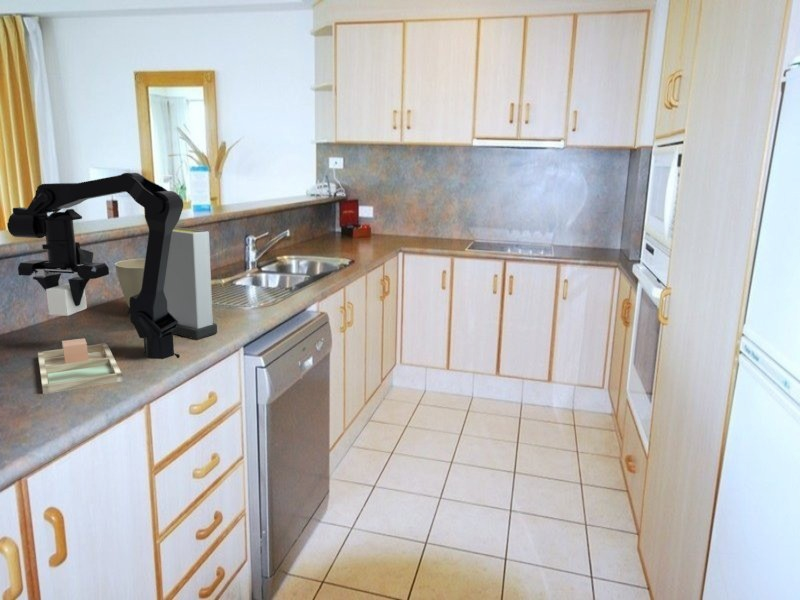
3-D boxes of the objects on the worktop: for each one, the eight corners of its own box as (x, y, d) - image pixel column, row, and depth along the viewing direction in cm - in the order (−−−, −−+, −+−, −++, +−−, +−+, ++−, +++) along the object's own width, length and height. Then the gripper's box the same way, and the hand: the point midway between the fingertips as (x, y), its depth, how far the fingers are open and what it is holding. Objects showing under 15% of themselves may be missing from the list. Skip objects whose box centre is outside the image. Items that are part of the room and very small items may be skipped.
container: (182, 333, 160) (164, 228, 155) (229, 333, 151) (211, 222, 146) (161, 339, 153) (140, 230, 149) (208, 340, 144) (188, 224, 140)
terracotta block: (88, 362, 125) (86, 343, 124) (65, 366, 123) (63, 346, 122) (86, 356, 129) (84, 338, 128) (63, 359, 126) (61, 340, 125)
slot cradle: (122, 385, 116) (121, 374, 116) (43, 398, 108) (42, 386, 108) (107, 353, 135) (106, 343, 134) (38, 362, 127) (37, 351, 126)
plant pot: (107, 317, 163) (102, 264, 160) (144, 306, 177) (140, 257, 173) (149, 323, 159) (145, 269, 155) (183, 311, 173) (181, 261, 169)
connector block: (86, 308, 135) (84, 284, 133) (67, 315, 128) (64, 290, 126) (69, 307, 135) (66, 283, 134) (49, 314, 128) (46, 289, 127)
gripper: (119, 236, 134) (125, 299, 138) (46, 233, 136) (53, 295, 140) (90, 242, 124) (97, 310, 127) (11, 239, 125) (20, 306, 129)
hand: (67, 305), depth 131 cm, fingers closed on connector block, 4 cm apart
